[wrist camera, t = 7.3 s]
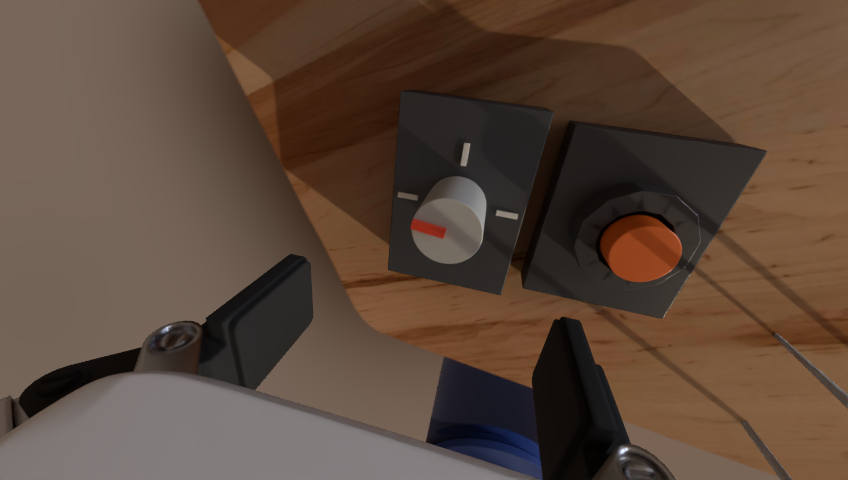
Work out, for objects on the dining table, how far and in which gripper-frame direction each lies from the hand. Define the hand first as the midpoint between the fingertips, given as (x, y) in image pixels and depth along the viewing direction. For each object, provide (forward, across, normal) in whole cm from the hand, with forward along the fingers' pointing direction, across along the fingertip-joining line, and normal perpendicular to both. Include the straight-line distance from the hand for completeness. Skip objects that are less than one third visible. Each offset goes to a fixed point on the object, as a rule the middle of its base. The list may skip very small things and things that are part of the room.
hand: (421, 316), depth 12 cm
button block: (+14, -11, -1) cm, 18 cm away
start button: (+10, -11, -1) cm, 15 cm away
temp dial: (+11, 0, -1) cm, 11 cm away
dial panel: (+14, 0, -1) cm, 14 cm away
